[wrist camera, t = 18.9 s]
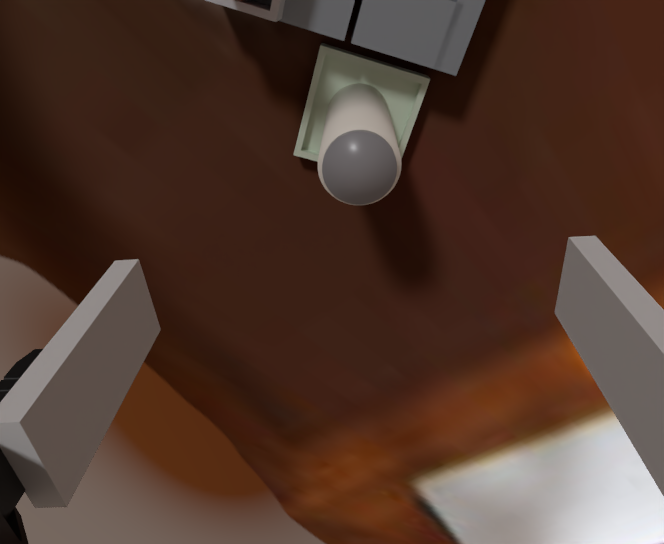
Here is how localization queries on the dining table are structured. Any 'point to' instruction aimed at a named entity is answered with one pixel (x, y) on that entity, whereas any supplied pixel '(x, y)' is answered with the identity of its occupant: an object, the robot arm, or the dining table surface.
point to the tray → (351, 68)
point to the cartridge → (359, 147)
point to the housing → (383, 25)
